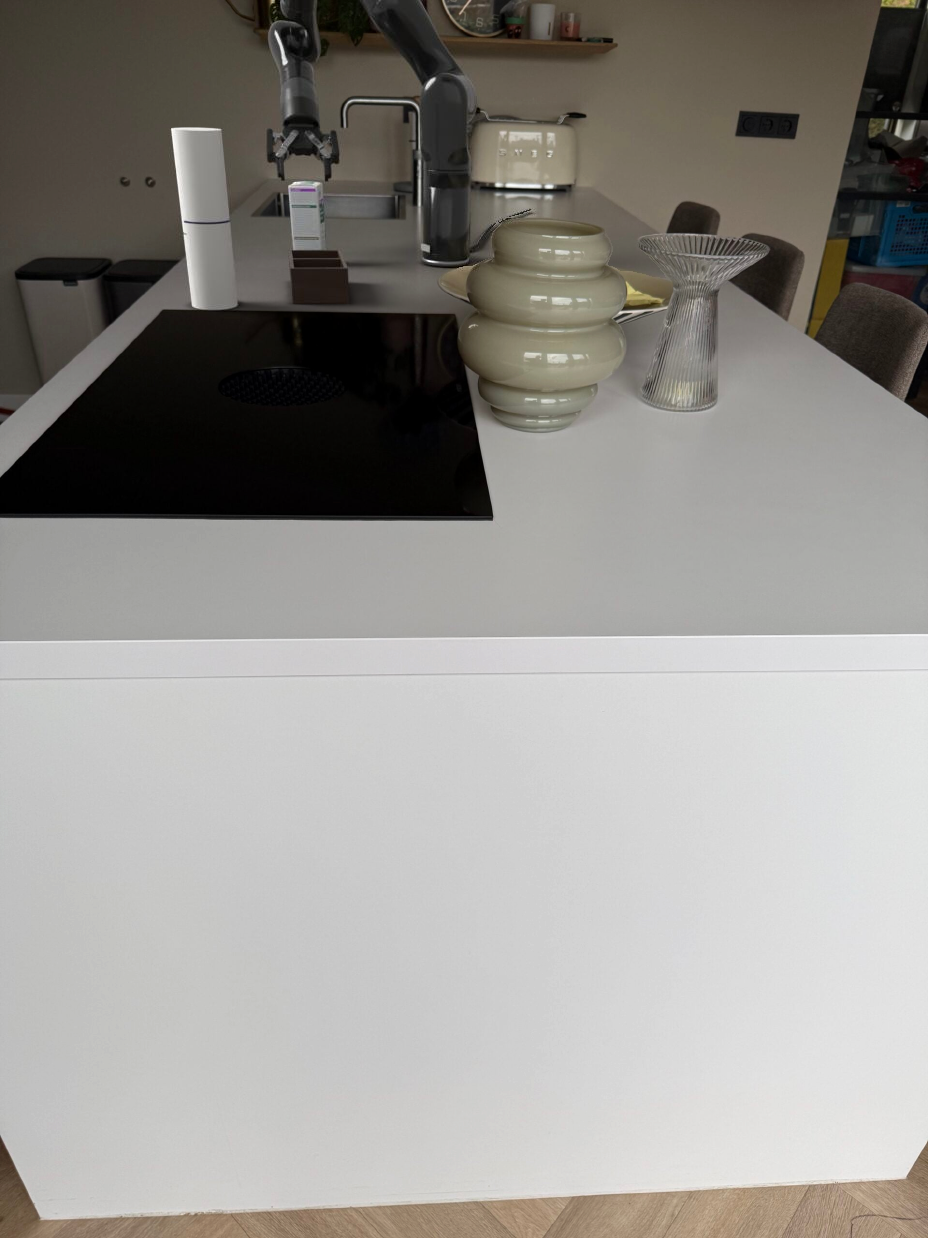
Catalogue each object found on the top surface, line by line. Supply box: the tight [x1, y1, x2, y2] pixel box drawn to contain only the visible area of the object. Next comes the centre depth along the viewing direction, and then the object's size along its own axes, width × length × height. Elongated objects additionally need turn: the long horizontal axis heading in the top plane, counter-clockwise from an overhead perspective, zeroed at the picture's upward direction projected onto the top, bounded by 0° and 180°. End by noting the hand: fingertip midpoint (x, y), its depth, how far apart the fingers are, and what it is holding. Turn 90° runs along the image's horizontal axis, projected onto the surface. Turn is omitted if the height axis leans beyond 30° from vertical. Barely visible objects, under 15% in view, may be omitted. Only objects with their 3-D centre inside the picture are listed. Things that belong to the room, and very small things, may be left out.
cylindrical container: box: [170, 127, 239, 311], centre depth 141 cm, size 7×7×25 cm
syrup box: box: [287, 180, 328, 250], centre depth 177 cm, size 6×6×14 cm
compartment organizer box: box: [288, 249, 350, 305], centre depth 156 cm, size 18×9×6 cm, turn 10°
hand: (304, 178), depth 180 cm, fingers open, 8 cm apart
